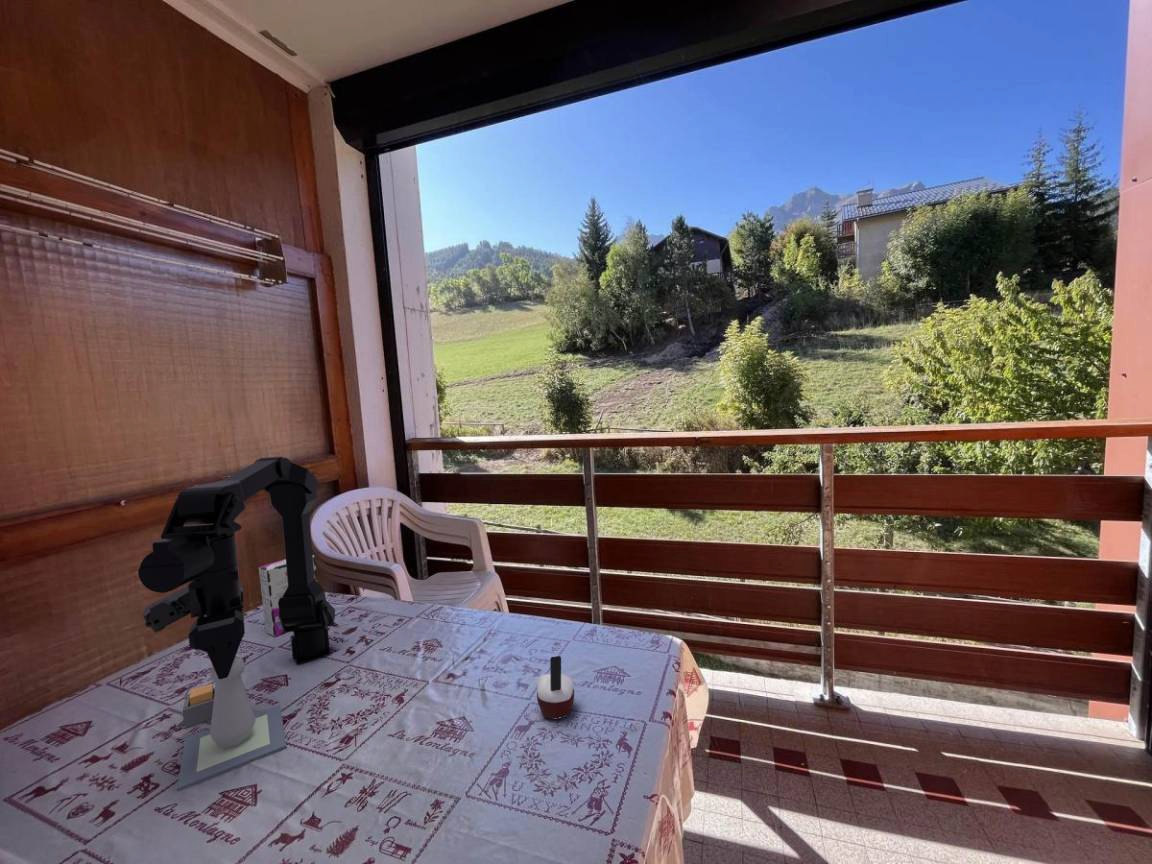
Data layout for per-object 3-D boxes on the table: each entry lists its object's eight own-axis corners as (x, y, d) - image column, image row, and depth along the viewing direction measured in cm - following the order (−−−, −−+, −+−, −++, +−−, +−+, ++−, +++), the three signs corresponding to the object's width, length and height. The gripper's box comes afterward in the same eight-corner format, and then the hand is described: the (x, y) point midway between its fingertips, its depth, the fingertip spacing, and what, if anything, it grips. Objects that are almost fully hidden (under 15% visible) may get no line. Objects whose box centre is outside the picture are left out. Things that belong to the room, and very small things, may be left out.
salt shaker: (265, 731, 77) (258, 653, 76) (229, 756, 71) (221, 673, 71) (239, 725, 79) (232, 649, 78) (202, 749, 73) (194, 668, 72)
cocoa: (546, 697, 83) (541, 630, 83) (581, 699, 82) (576, 631, 82) (529, 732, 74) (523, 656, 74) (567, 735, 73) (561, 657, 73)
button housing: (221, 703, 86) (219, 686, 86) (220, 716, 82) (218, 698, 82) (187, 714, 83) (185, 696, 83) (184, 728, 79) (182, 710, 79)
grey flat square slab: (280, 706, 84) (279, 703, 84) (286, 747, 73) (285, 744, 73) (185, 739, 76) (185, 736, 76) (177, 791, 66) (177, 787, 66)
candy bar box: (311, 614, 122) (305, 552, 121) (321, 618, 119) (316, 555, 118) (263, 633, 113) (257, 566, 112) (273, 638, 110) (267, 569, 109)
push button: (213, 697, 84) (212, 683, 84) (213, 706, 82) (211, 691, 82) (192, 704, 83) (190, 690, 83) (190, 713, 80) (189, 698, 80)
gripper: (154, 564, 76) (163, 658, 77) (133, 600, 61) (145, 717, 62) (239, 549, 82) (247, 636, 83) (239, 578, 67) (249, 684, 68)
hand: (224, 665), depth 74 cm, fingers open, 9 cm apart
